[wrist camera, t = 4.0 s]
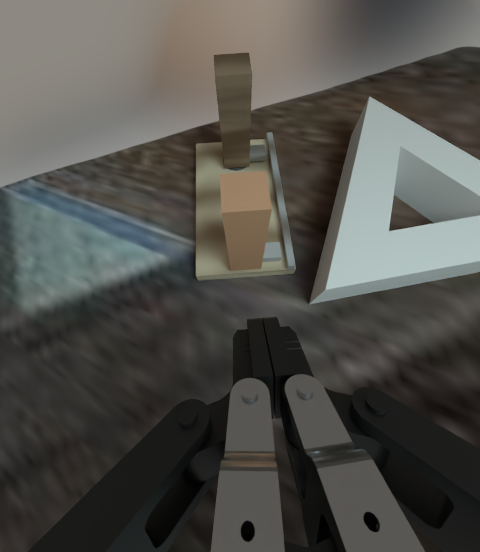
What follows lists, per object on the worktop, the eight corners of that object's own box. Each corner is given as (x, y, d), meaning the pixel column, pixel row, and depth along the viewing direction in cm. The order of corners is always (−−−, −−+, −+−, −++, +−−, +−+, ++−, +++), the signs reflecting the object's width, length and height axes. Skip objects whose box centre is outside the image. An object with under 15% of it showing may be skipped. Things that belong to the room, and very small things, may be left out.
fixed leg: (266, 165, 32) (276, 72, 21) (224, 168, 32) (214, 76, 21) (263, 147, 33) (271, 51, 23) (223, 149, 33) (213, 54, 23)
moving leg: (281, 267, 26) (305, 206, 16) (230, 270, 26) (221, 212, 16) (277, 240, 27) (297, 168, 17) (229, 244, 27) (219, 174, 17)
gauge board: (293, 273, 28) (297, 265, 25) (198, 280, 28) (194, 273, 25) (272, 147, 36) (274, 132, 33) (197, 152, 36) (194, 137, 33)
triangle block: (349, 138, 37) (369, 96, 31) (523, 176, 33) (583, 137, 27) (307, 305, 27) (325, 289, 21) (549, 384, 23) (652, 392, 17)
